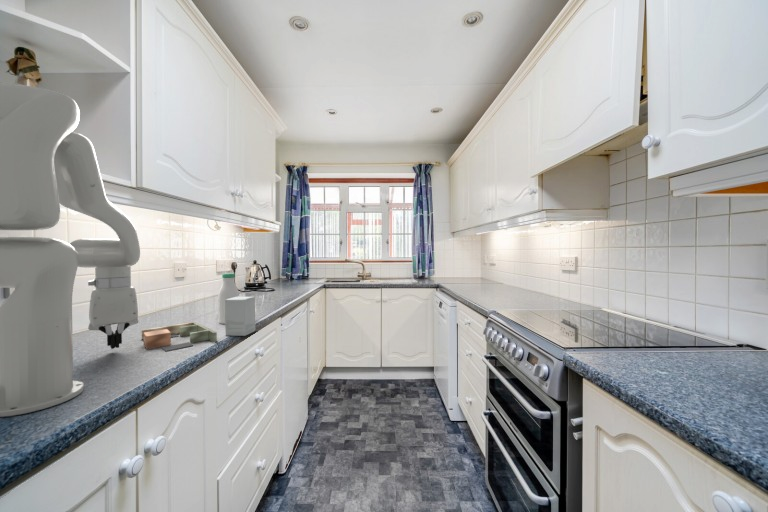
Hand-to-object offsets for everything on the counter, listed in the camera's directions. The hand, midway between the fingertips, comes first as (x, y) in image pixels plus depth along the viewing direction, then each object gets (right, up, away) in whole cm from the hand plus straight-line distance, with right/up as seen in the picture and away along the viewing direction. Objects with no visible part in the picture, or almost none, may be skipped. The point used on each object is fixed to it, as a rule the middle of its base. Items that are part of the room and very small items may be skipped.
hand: (114, 347), depth 86 cm
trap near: (+15, -1, +5) cm, 16 cm away
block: (+7, -2, +7) cm, 10 cm away
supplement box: (+27, -2, +21) cm, 34 cm away
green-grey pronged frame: (+10, -1, +11) cm, 15 cm away
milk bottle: (+14, -1, +37) cm, 40 cm away
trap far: (+3, -1, +15) cm, 15 cm away
